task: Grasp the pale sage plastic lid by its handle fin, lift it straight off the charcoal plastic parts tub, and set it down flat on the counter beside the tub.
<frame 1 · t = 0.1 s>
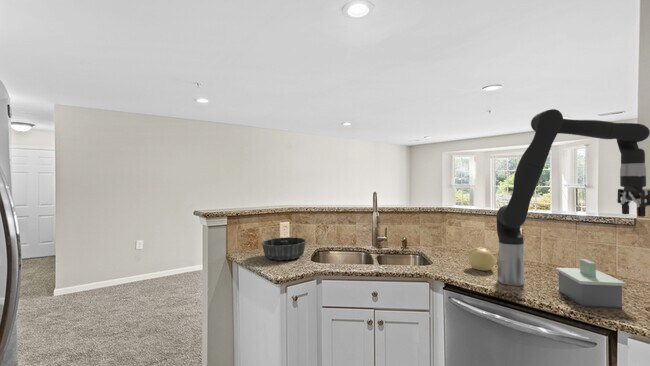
hand: (633, 215, 129), 29 cm above the worktop, fingers open, 8 cm apart
lid: (587, 279, 119), point 7 cm above the worktop, touching tub
lemon: (503, 262, 172), on the worktop
tub: (588, 298, 119), on the worktop
bundt pan: (284, 257, 192), on the worktop
sculpture: (481, 269, 160), on the worktop
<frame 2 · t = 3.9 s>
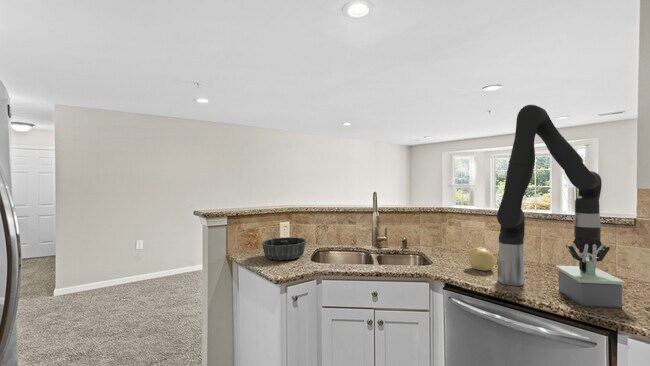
hand: (587, 271, 119), 10 cm above the worktop, fingers closed on lid
lid: (587, 277, 119), point 8 cm above the worktop, touching gripper
everything else where it was.
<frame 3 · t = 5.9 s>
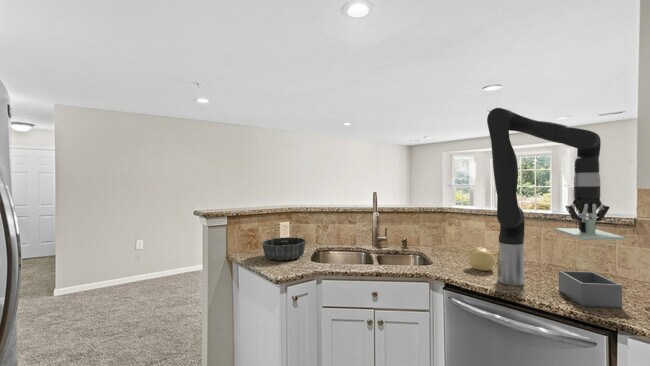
hand: (587, 232, 118), 25 cm above the worktop, fingers closed on lid
lid: (587, 236, 119), point 23 cm above the worktop, touching gripper
everything else where it was.
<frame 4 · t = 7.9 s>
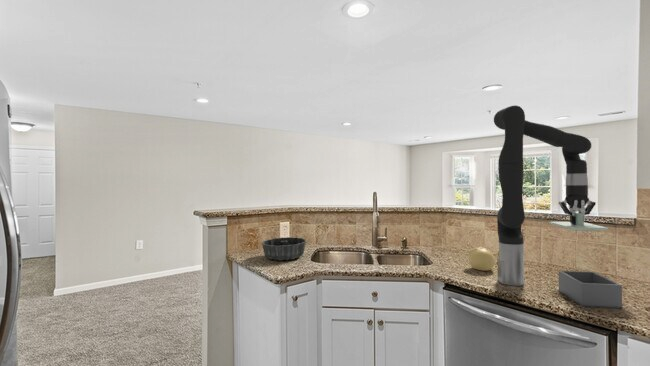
hand: (577, 224, 138), 25 cm above the worktop, fingers closed on lid
lid: (577, 228, 138), point 23 cm above the worktop, touching gripper
everything else where it was.
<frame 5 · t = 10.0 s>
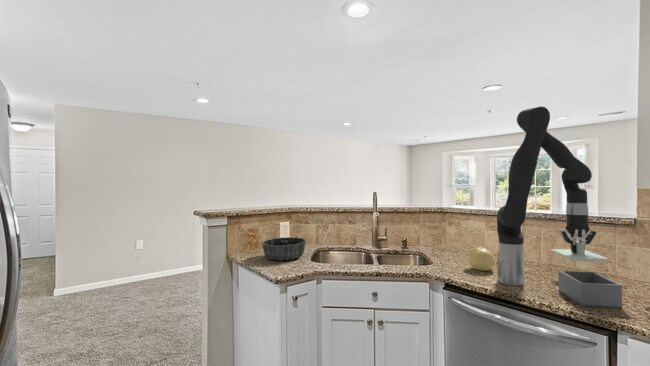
hand: (577, 253, 138), 12 cm above the worktop, fingers closed on lid
lid: (577, 257, 138), point 10 cm above the worktop, touching gripper
everything else where it was.
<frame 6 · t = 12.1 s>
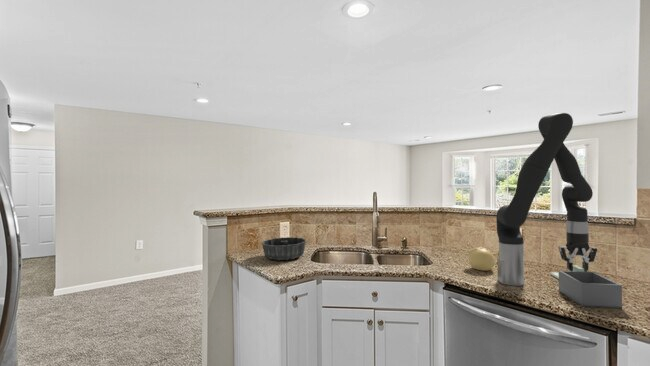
hand: (577, 270, 139), 5 cm above the worktop, fingers open, 4 cm apart
lid: (577, 282, 139), on the worktop
everything else where it was.
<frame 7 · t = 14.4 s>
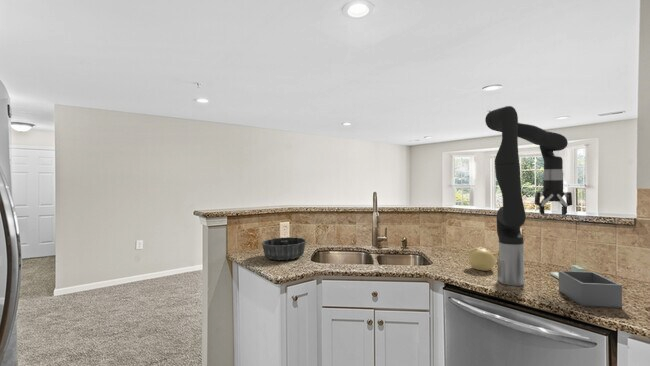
hand: (553, 214, 147), 28 cm above the worktop, fingers open, 8 cm apart
nothing on the worktop moved.
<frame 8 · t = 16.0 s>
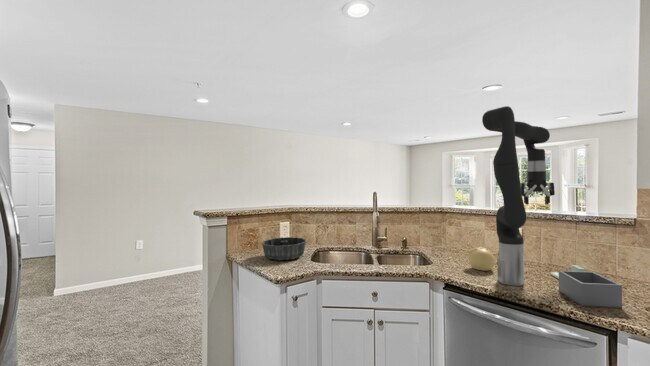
hand: (536, 204, 154), 32 cm above the worktop, fingers open, 8 cm apart
nothing on the worktop moved.
at the end: lid inside the target area (0.1 cm from its centre), on the worktop; lid tilted 0°; lid touching worktop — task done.
